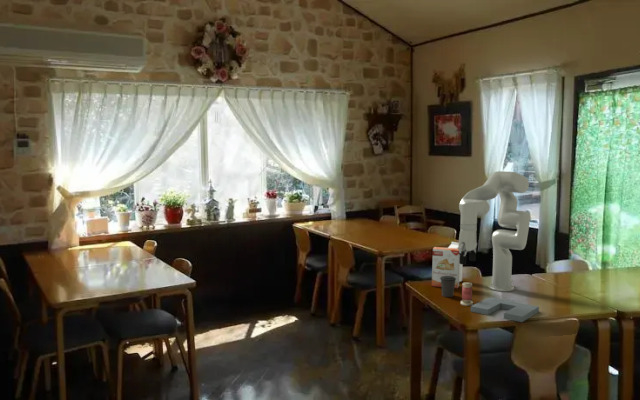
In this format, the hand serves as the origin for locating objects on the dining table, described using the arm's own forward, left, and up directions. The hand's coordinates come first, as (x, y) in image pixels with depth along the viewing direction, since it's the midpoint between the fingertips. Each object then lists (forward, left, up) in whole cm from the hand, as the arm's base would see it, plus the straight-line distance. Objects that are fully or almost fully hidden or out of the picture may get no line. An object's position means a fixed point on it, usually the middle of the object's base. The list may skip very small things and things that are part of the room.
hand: (467, 262), depth 272 cm
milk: (-37, -26, -21) cm, 50 cm away
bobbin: (0, 0, -20) cm, 20 cm away
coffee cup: (-7, -14, -21) cm, 26 cm away
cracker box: (-23, -24, -21) cm, 39 cm away
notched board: (0, +19, -20) cm, 28 cm away
